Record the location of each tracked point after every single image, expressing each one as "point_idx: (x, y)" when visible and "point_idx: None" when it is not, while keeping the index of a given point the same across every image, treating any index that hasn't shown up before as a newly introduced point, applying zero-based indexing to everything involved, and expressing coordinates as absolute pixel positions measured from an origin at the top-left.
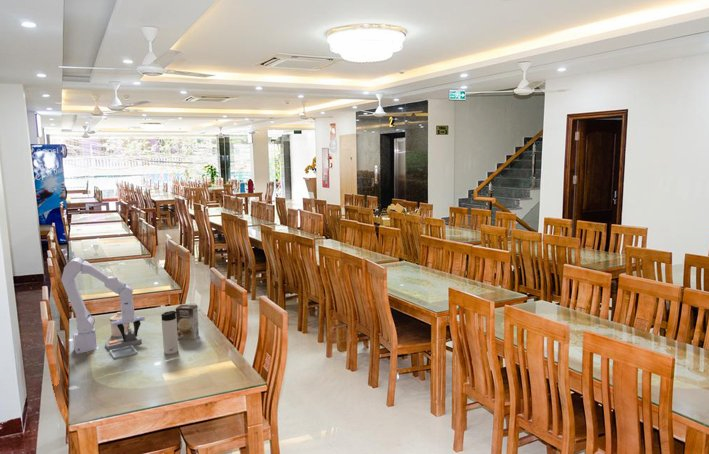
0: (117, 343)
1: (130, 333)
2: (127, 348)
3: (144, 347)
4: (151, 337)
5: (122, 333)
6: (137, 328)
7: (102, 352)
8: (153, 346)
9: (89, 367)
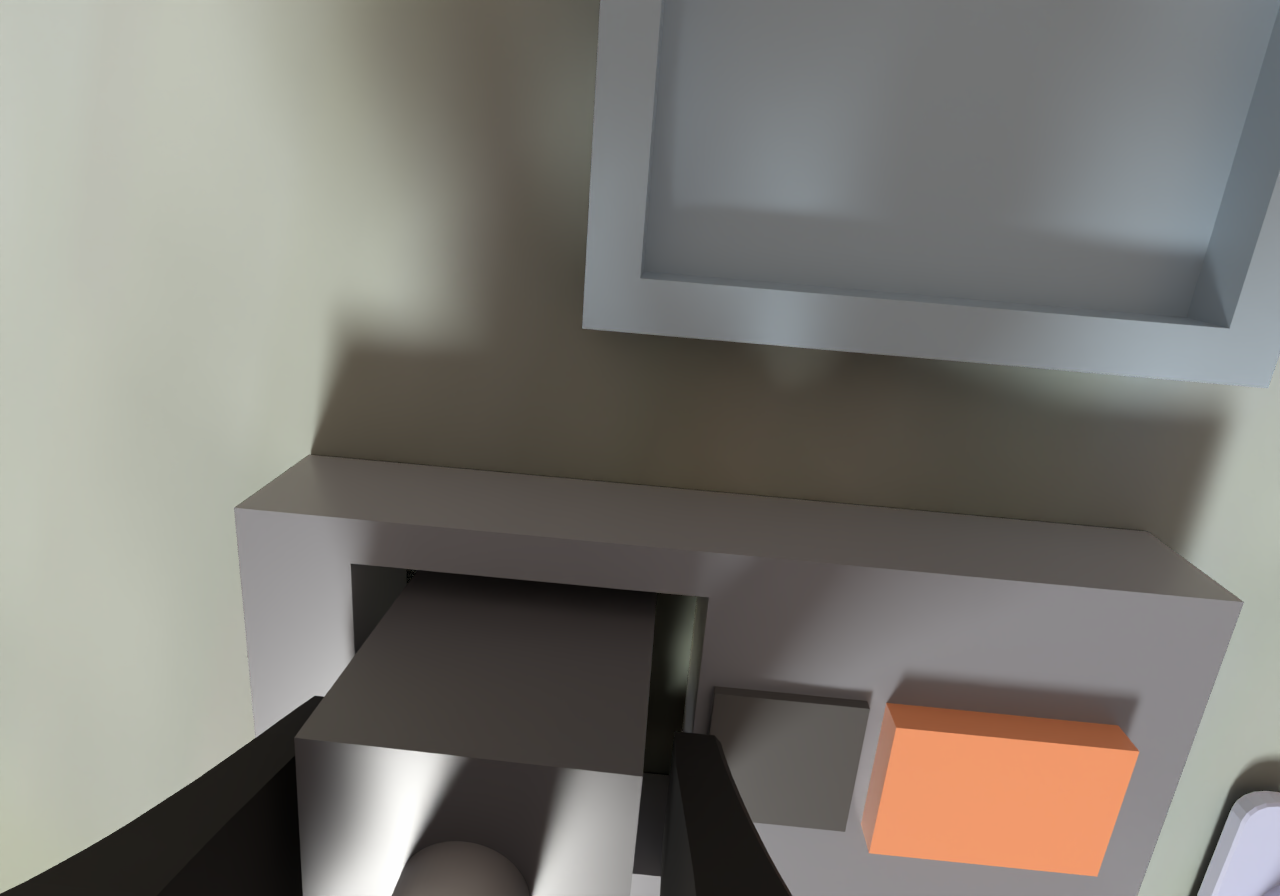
0: (923, 648)
1: (461, 801)
2: (743, 281)
3: (299, 143)
4: (36, 722)
5: (774, 892)
6: (64, 892)
7: (1270, 577)
8: (55, 26)
9: None
